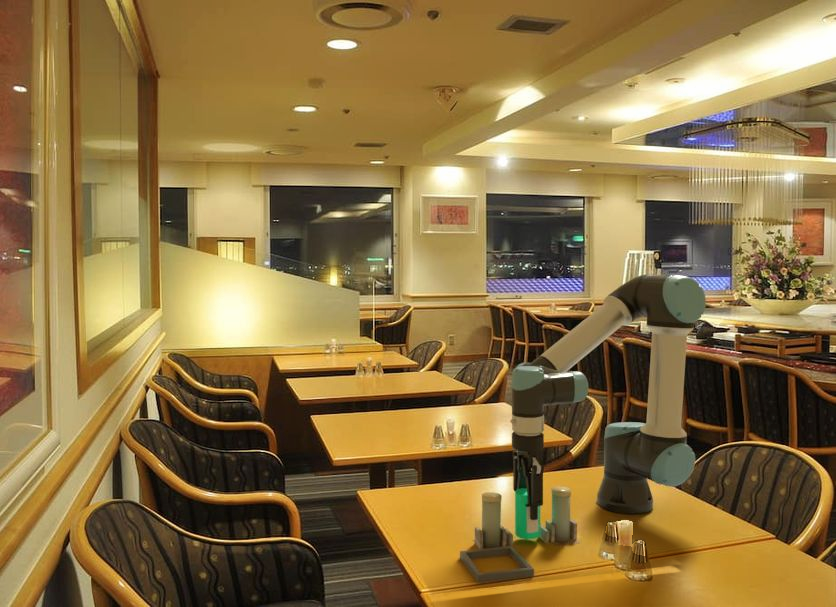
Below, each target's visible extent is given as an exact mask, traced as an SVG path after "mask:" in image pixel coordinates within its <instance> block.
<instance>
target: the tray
mask: <svg viewBox="0 0 836 607" xmlns="http://www.w3.org/2000/svg"><path fill="white" fill-rule="evenodd" d="M503 556H509V557H511V559H513V560H514V562H516V564H517V565H518V566H519V567H520V568H514V569H505V570H497V571H496V570H494V571H486V572H481V570H479V568H478V567H477V566H476V565H475V563H474V562H473V560H474V559H476V560H477V559H485V558H493V557H494V558H495V557H503ZM459 559H460V560H461V562H462V564H463V565H464V566H465V567H466V569H467V570H468V571H469V573H470V574H471V575H472V577H473V578H474V580H475V581H476V582H477V584H482V583H490V582H491V583H492V582H499V581H508V580H517V579H523V578H524V579H525V578H533V577H535V569H534V568H533V566H532V565H531V564H530V563H529V562H528V561H527V560H526V559H525V558H524V556H522V555H521V554H520V553H519V552H518V550H517V549H516V548H514V545H513V546H508V545H506V547H497V548H487V549H479V548H478V549H469V550H461V551H459ZM526 583H529V582H526ZM520 584H521V583H518V585H520ZM509 585H510V586H512V584H511V583H510V584H509ZM501 586H504V584H503V585H501ZM492 587H495V586H493V585H492ZM484 588H487V586H486V587H484Z"/></svg>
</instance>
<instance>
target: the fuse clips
mask: <svg viewBox="0 0 836 607" xmlns="http://www.w3.org/2000/svg"><path fill="white" fill-rule="evenodd" d="M538 538H539V539H540V540H542V541H543V542H544V543H545V544H549V543H550V542H551V543H552V544H553V545H554V546H555V547H559V546H567V545H568V546H569V545H574V544H575V545H576V544H581V542H580V541H579V540H578V522H576V521H575V520H573V519H572V518H571V517H570V540H568V541H563V542H562V541H556V540H555V525H554V524H553V523H552V521H551V520H549V519H545V526H544V525H542V524H540V536H539V537H538ZM472 542H474V545H475V546H476V547H477V548H478V549H487V548H484V547H483V532H482V529H480V528H479V526H475V527H474V539H472ZM506 546H513V547H514V534H513V533H512V532H511V531H510V530H509V529H508V528H505V527H504V526H503V525H502V524H501V526H500V547H506Z"/></svg>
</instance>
